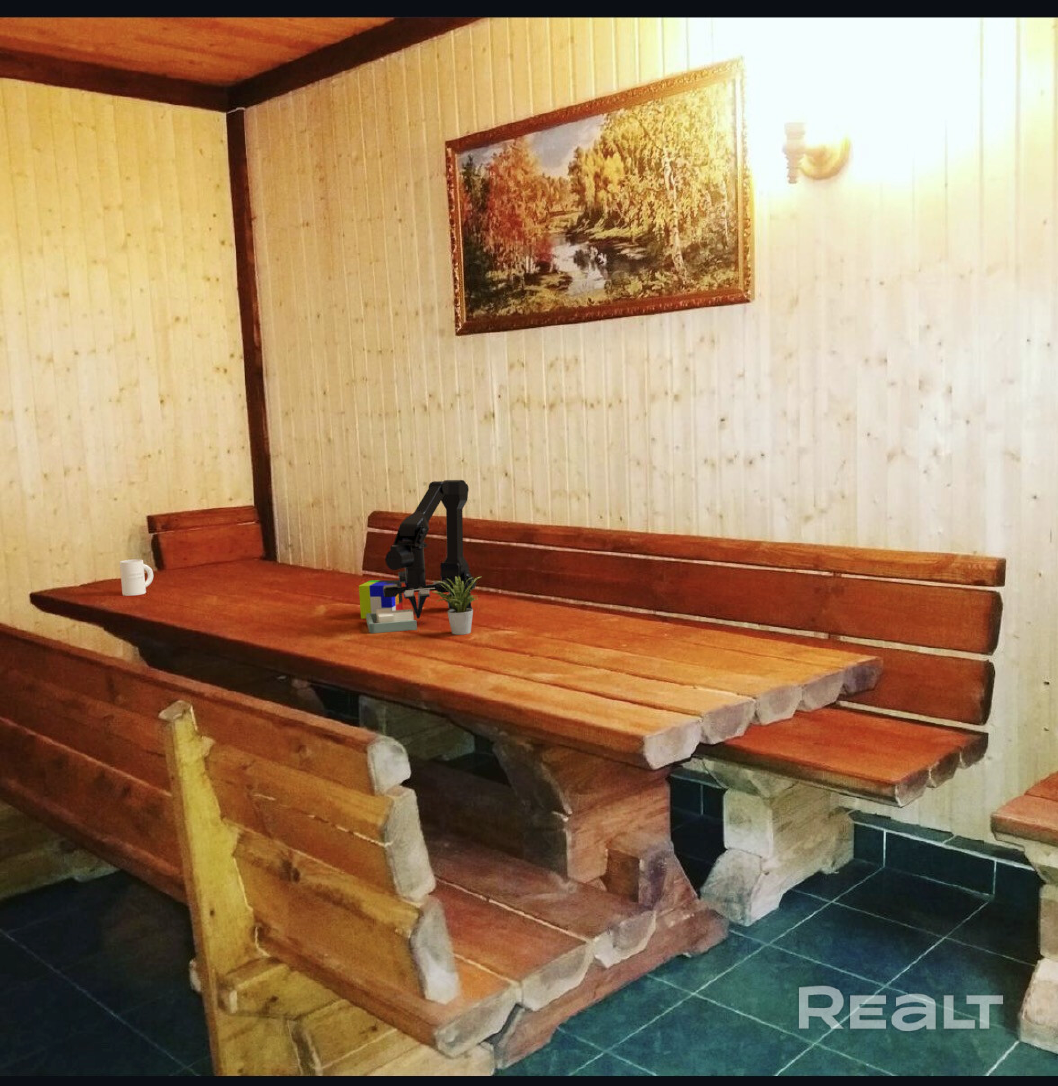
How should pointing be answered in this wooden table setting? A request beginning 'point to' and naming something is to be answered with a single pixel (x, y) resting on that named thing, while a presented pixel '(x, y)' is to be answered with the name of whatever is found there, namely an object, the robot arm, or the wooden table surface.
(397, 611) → the t block
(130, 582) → the mug
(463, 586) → the house plant
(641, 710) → the wooden table surface
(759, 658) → the wooden table surface
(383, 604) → the puzzle toy
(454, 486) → the robot arm
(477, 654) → the wooden table surface
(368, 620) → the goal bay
